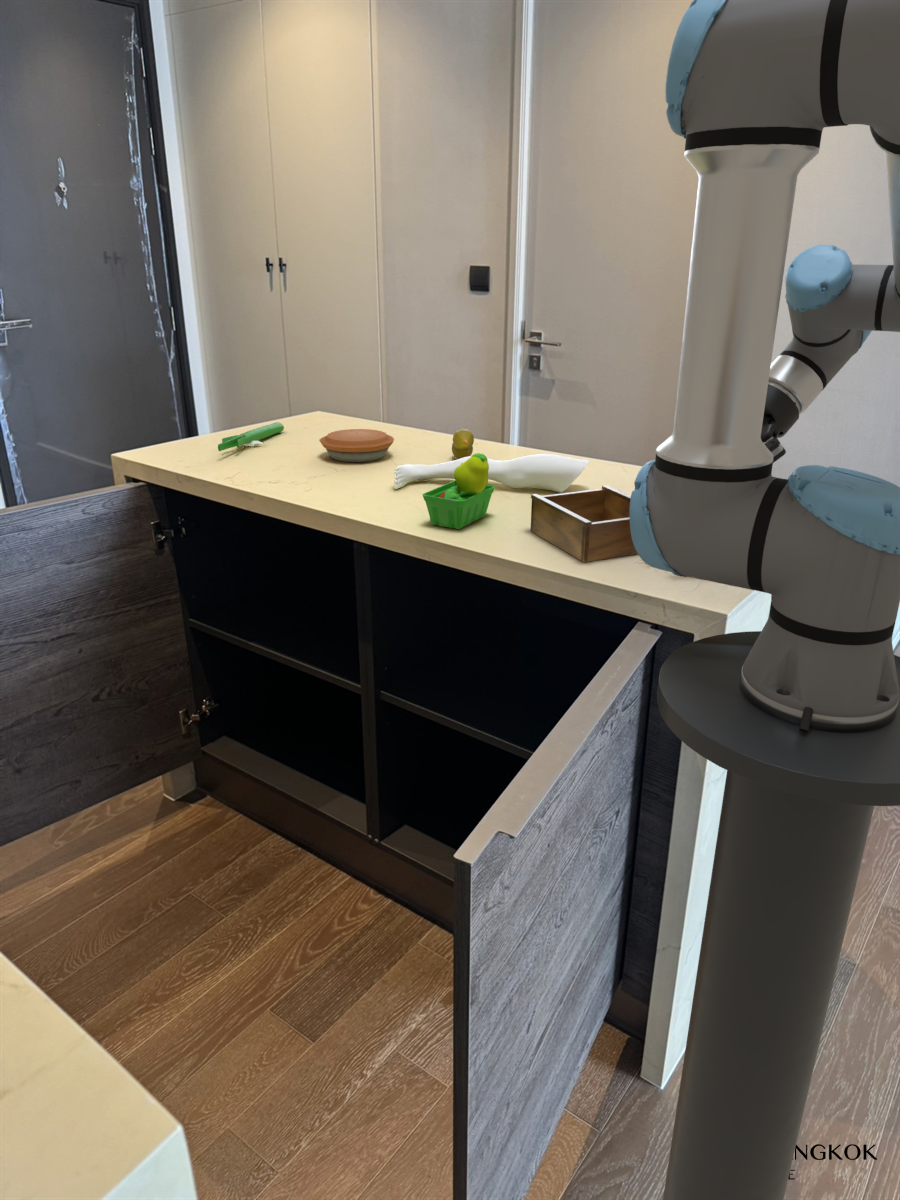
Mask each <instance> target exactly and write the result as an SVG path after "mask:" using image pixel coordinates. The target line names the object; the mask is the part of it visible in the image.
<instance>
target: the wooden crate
mask: <svg viewBox="0 0 900 1200" xmlns="http://www.w3.org/2000/svg"><path fill="white" fill-rule="evenodd" d="M530 498H531V508H530V509H531V510H530V511H531V512H530V532H531V533H533V534H535V535H537V536H538V537H540V538H541V539H543V540H545V541H547V542H548V543H550V544H552V545H554V546H555V547H557V548H559V549H560V550H562V551H564V552H566V553H567V554H568V555H570V556H572V557H574V558H575V559H577V560H578V561H581V563H589V562H595V561H601V560H607V559H608V560H609V559H615V558H619V557H626V556H633V555H634V556H635V555H639V554H638V553H637V551H636V549H635V547H634V544H633V541H632V537H631V530H630V518H629V517H630V499H631V494H628V493H626V492H623V491H622V490H619V489H616V488H615V487H612V486H610V485H608V484H607V485H601V488H596V489H587V490H577V491H571V492H562V493H554V494H546V495H539V494H538V493H532V494H530Z"/></svg>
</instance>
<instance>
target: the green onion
mask: <svg viewBox="0 0 900 1200" xmlns="http://www.w3.org/2000/svg"><path fill="white" fill-rule="evenodd" d="M284 429H285V426H284V424H283V423H281V422H274V423H273V422H272V423H271V424H266V425H263V426H260V427H256V428H253V429H251V430H250V429H249V430H247V431H245V432H243V433H240V434H236V435H232V436H227V437H223V438H221V442H220V443H218V444H217V451H218V452H222V451H225V450H228V449H231V448H235V447H236V448H237V449H239V448H240V447H242V446H243V447H255V446H256V445H263V444H264V443H263V441H260V440H263V439H266V438H268V437H269V438H270V437H271V436H273V435H276V434H279V433H282V432H283V431H284Z"/></svg>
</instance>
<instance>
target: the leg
mask: <svg viewBox="0 0 900 1200" xmlns="http://www.w3.org/2000/svg"><path fill="white" fill-rule="evenodd" d="M471 457H472V455H471V456H468V457H464V458H460V459H458V458H457V459H455V460H450V461H445V462H441V463H436V464H435V463H434V464H419V463H416V464H410V463H405V464H399V465H398V466H396V468H395V469H394V475H395V476H394V477H393V478H394V479H395V480H394V481H393V483H394V486H393V487H394V489H395V490H397V489H400V488H403V487H404V486H406V485H407V484H409V483H412V482H415V481H419V482H423V481H424V482H425V481H429V480H436V479H437V480H439V479H448V480H455V477H454V471H455V469H456V468H457V467H458V466H460V464H462V463H463V462H465V461H467V460H468V459H469V458H471ZM487 459H488V460H487V462H488V464H489V470H488V481H489V480H490V481H493V482H496V483H500V484H502V485H503V486H506V487H508V488H514V489H521V488H522V489H523V488H531V489H538V490H547V491H552V492H556V493H558V494H561V493H564V492H565V491H566V490H567V489H568V488H569V487H570V486H571V485H572V484H573V483H574V482H575V481H576V479H577V478H578V477H579V476H580V475H581V474H582V473H583V472H584V470H585V469H586V468H587V467H588V465H589V463H590V459H582V458H574V457H571V456H570V457H569V456H565V455H560V454H553V453H535V454H529V455H523V456H519V457H516V458H512V459H507V460H499V459H492V458H489V457H487Z"/></svg>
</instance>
